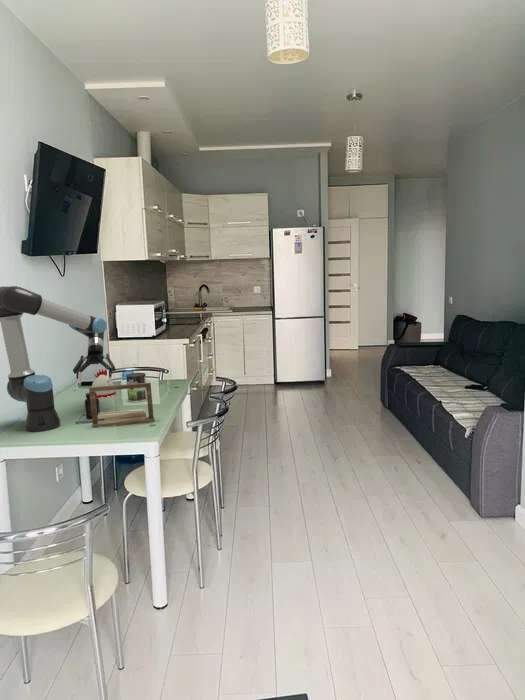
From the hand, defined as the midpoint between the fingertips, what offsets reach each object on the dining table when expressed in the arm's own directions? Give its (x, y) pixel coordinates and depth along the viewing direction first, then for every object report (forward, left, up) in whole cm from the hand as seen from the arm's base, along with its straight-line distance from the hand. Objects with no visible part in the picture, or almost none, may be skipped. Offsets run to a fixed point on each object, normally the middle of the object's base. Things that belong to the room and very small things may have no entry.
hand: (93, 383), depth 265 cm
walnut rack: (-9, -24, -16) cm, 30 cm away
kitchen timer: (+35, +28, -16) cm, 48 cm away
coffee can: (+30, -1, -16) cm, 34 cm away
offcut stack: (-9, -24, -14) cm, 30 cm away
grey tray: (-7, -4, -16) cm, 18 cm away
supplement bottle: (-7, -5, -15) cm, 17 cm away
